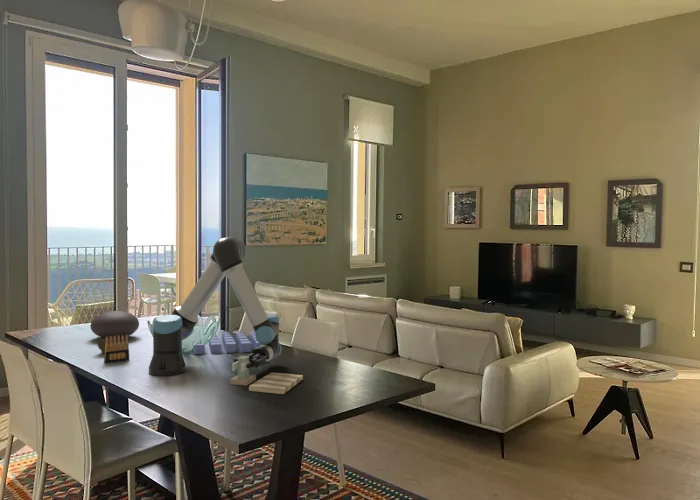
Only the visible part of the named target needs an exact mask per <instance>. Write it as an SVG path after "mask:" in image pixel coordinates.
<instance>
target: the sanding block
mask: <svg viewBox="0 0 700 500" xmlns="http://www.w3.org/2000/svg"><path fill="white" fill-rule="evenodd" d="M238 357H239V356H238ZM247 361H249V357H248V356H247V355H244V356H241V357H239V358H238V369H237V375H235V376H233V377H231V378H230V379H229V380H230V381H229V382H230V383H229V384H230V385H237V386H238V385H239V386H248V385H251V384H253V383H254V381H255V382H256V381H257V375H256V374H250V368H248V369H246V370H244V371H241V364H243V363H245V362H247Z"/></svg>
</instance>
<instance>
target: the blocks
mask: <svg viewBox="0 0 700 500" xmlns="http://www.w3.org/2000/svg"><path fill="white" fill-rule="evenodd" d="M221 335H222V336H221V339H222V343H223V346H224V350H225V353H227V354H229V353H237V344H238V348H239V349H240V352H241V353H251V352H252V346H253V348H254V349H255V348H257V347H259V346H261V345H262V344H261V343H259V342H258V341H257V339H256V333H255V331H254V330H253V331H251V332H250V333H249V335H248V336H247V335H245V333H244V332H242V331H238V332H237V333H236V334H235V338H236V341H235V339H234V337H233V336H232V335H231V333H229V332H227V331H226V332H223V334H221ZM248 337H249V338H248ZM219 339H220V338H219V337H218V335H217V333H215V336H214V337H213V338H212V339H211V340H210V341H209V340H208V345H209V350H210V354H222V343H221V341H220V340H219ZM205 347H206V346H205V342H204V343H201V344H197V345H194V346H193V353H194V355H201V354H202V355H203V354H205V353H206V352H205V351H206V348H205Z"/></svg>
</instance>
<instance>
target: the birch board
mask: <svg viewBox="0 0 700 500" xmlns="http://www.w3.org/2000/svg"><path fill="white" fill-rule="evenodd" d="M301 380H302V381H303V380H304V375H303V374H294V373H283V372H282V373H281V372H272V371H271V372H270V373H268V374H266V375H265V376H263V377H261V378H259V379H258V380H255V382H252V383H251V384H249V386H248V391H249V392H258V393H259V392H260V393H271V394H279V395H284V394H286V393H287V392H288V391H290V390H291V389H292V388H293V387H295V386H296V385H298V384H299V383H300V382H302V381H301Z"/></svg>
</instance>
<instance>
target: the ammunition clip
mask: <svg viewBox="0 0 700 500" xmlns="http://www.w3.org/2000/svg"><path fill="white" fill-rule="evenodd" d="M127 360H128V361H130V350H129V336H127V334H126V337H124V336H123V335H122V338H120V336H119V335H118V339H116V336H114V339H113V344H112V337H111V336H110V340H109V345H108V337H106V341H105V354H104V359H103V362H104V363H105V364H111V362H112V363H119V362H118V361H120V362H126V361H127Z"/></svg>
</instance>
